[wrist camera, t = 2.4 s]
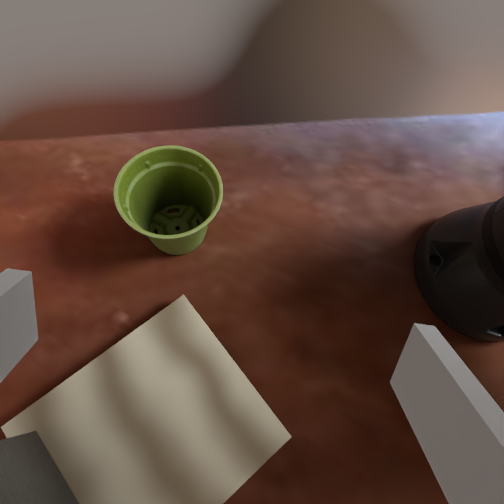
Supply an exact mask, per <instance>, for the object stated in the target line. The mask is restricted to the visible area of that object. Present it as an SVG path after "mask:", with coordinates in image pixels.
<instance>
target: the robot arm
mask: <svg viewBox="0 0 504 504" xmlns="http://www.w3.org/2000/svg"><path fill="white" fill-rule="evenodd" d="M415 273H416V277H417V281H418V284H419V287H420V289H421V292H422V294H423V296H424V298H425V299H426V301H427V303H428V304H429V305H430V307H431V308H432V309H433V311H434V312H435V313H436V314H437V315H438V316H439V317H440V318H441V319H442V320H443V321H444V322H445V323H446V324H448V325H449V326H450V327H452V328H453V329H455V330H456V331H458V332H460V333H462V334H464V335H466V336H468V337H471V338H474V339H477V340H482V341H488V342H499V341H504V197H502V198H500V199H499V200H497V201H495V202H490V203H486V204H482V205H477V206H473V207H469V208H464V209H460V210H457V211H454V212H451V213H449V214H447V215H445V216H444V217H442V218H441V219H439V220H438V221H437V222H435V223H434V224H432V225H431V226H430V227H429V228H428V229H427V230H426V231H425V232H424V233H423V235H422V236H421V238H420V240H419V242H418V245H417V248H416V252H415ZM37 340H38V331H37V321H36V311H35V301H34V291H33V282H32V272H31V271H23V270H16V269H9V268H7V269H6V270H4V271H3V272H2V273H0V383H1V382H2V381H3V379H4V378H5V377H6V376H7V375H8V374H9V373H10V371H11V370H12V369H13V368H14V367H15V366H16V364H17V363H18V362H19V361H20V360H21V359H22V358H23V356H24V355H25V354H26V353H27V352H28V351H29V349H30V348H31V347H32V346H33V345H34V344H35V343H36V341H37ZM390 384H391V386H392V388H393V390H394V392H395V394H396V396H397V398H398V400H399V403H400V405H401V407H402V409H403V411H404V413H405V415H406V417H407V419H408V421H409V423H410V425H411V427H412V429H413V431H414V433H415V435H416V438H417V440H418V442H419V444H420V446H421V448H422V450H423V452H424V454H425V456H426V458H427V460H428V462H429V464H430V466H431V468H432V471H433V473H434V475H435V477H436V479H437V481H438V483H439V485H440V487H441V489H442V491H443V493H444V495H445V497H446V499H447V501H448V503H449V504H504V412H503V411H502V410H501V408H500V407H499V406H498V405H497V403H496V402H495V401H494V400H493V398H492V397H491V396H490V395H489V393H488V392H487V391H486V390H485V388H484V387H483V386H482V385H481V383H480V382H479V381H478V380H477V378H476V377H475V376H474V375H473V373H472V372H471V371H470V370H469V368H468V367H467V366H466V365H465V363H464V362H463V361H462V360H461V358H460V357H459V356H458V354H457V353H456V352H455V351H454V349H453V348H452V347H451V346H450V344H449V343H448V342H447V341H446V339H445V338H444V337H443V336H442V334H441V333H440V332H439V331H438V329H437V328H436V327H435V326H432V325H425V324H417V323H414V324H413V327H412V329H411V332H410V334H409V336H408V339H407V341H406V344H405V346H404V349H403V351H402V353H401V356H400V358H399V361H398V363H397V366H396V368H395V370H394V373H393V375H392V378H391V380H390Z"/></svg>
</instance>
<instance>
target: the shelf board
mask: <svg viewBox="0 0 504 504" xmlns="http://www.w3.org/2000/svg"><path fill="white" fill-rule="evenodd" d="M1 429H2V430H3V432H4V434H5V436H6V438H10V437H14V436H18V435H22V434H25V433H29V432H33V431H37V433H38V434H39V436H40V438H41V439H42V441H43V443H44V444H45V446H46V448H47V450H48V451H49V453H50V455H51V456H52V458H53V460H54V461H55V463H56V465H57V467H58V468H59V470H60V472H61V473H62V475H63V477H64V478H65V480H66V482H67V484H68V485H69V487H70V489H71V490H72V492H73V494H74V495H75V497H76V499H77V500H78V502H79V504H223V503H224V502H225V501H226V500H227V499H228V498H229V497H230V496H231V495H232V494H234V493H235V492H236V491H237V490H238V489H239V488H240V487H241V486H242V485H243V484H244V483H245V482H246V481H247V480H248V479H249V478H250V477H251V476H252V475H253V474H254V473H255V472H256V471H257V470H258V469H259V468H260V467H261V466H262V465H263V464H264V463H265V462H266V461H267V460H268V459H269V458H270V457H271V456H273V455H274V454H275V453H276V452H277V451H278V450H279V449H280V448H281V447H282V446H283V445H284V444H285V443H286V442H287V441H288V440H289V439H290V438H291V435H290V434H289V433H288V431H287V430H286V429H285V427H284V426H283V425H282V423H281V422H280V421H279V419H278V418H277V417H276V415H275V414H274V413H273V412H272V410H271V409H270V408H269V406H268V405H267V404H266V402H265V401H264V400H263V398H262V397H261V396H260V394H259V393H258V392H257V391H256V389H255V388H254V387H253V385H252V384H251V383H250V381H249V380H248V379H247V377H246V376H245V375H244V373H243V372H242V371H241V369H240V368H239V367H238V366H237V364H236V363H235V362H234V360H233V359H232V358H231V356H230V355H229V354H228V352H227V351H226V350H225V348H224V347H223V346H222V344H221V343H220V342H219V341H218V339H217V338H216V337H215V335H214V334H213V333H212V331H211V330H210V329H209V327H208V326H207V325H206V323H205V322H204V321H203V319H202V318H201V317H200V316H199V314H198V313H197V312H196V310H195V309H194V308H193V306H192V305H191V304H190V302H189V301H188V300H187V298H186V297H185V296H184V295H182V296H181V297H180V298H178V299H177V300H176V301H174V302H173V303H171V304H170V305H169V306H167V307H166V308H164V309H163V310H162V311H160V312H159V313H158V314H156V315H155V316H153V317H152V318H151V319H149V320H148V321H147V322H145V323H144V324H142V325H141V326H140V327H138V328H137V329H135V330H134V331H133V332H131V333H130V334H129V335H127V336H126V337H124V338H123V339H122V340H120V341H119V342H118V343H116V344H115V345H113V346H112V347H111V348H109V349H108V350H106V351H105V352H104V353H102V354H101V355H100V356H98V357H97V358H95V359H94V360H93V361H91V362H90V363H89V364H87V365H86V366H84V367H83V368H82V369H80V370H79V371H77V372H76V373H75V374H73V375H72V376H71V377H69V378H68V379H66V380H65V381H64V382H62V383H61V384H60V385H58V386H57V387H55V388H54V389H53V390H51V391H50V392H48V393H47V394H46V395H44V396H43V397H42V398H40V399H39V400H37V401H36V402H35V403H33V404H32V405H31V406H29V407H28V408H26V409H25V410H24V411H22V412H21V413H19V414H18V415H17V416H15V417H14V418H13V419H11V420H10V421H8V422H7V423H6V424H4V425H3V426H2V427H1Z"/></svg>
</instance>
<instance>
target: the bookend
mask: <svg viewBox="0 0 504 504" xmlns="http://www.w3.org/2000/svg"><path fill="white" fill-rule="evenodd" d="M0 504H79V502H78V500H77V499H76V497H75V495H74V494H73V492H72V490H71V489H70V487H69V485H68V484H67V482H66V480H65V478H64V477H63V475H62V473H61V472H60V470H59V468H58V467H57V465H56V463H55V461H54V460H53V458H52V456H51V455H50V453H49V451H48V450H47V448H46V446H45V444H44V443H43V441H42V439H41V438H40V436H39V434H38V433H37V431H33V432H29V433H25V434H22V435H18V436H14V437H10V438H6V439H2V440H0Z"/></svg>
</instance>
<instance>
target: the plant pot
mask: <svg viewBox="0 0 504 504" xmlns="http://www.w3.org/2000/svg"><path fill="white" fill-rule="evenodd" d="M222 197H223V185H222V181H221V178H220V175H219V173H218V171H217V169H216V168H215V166H214V165H213V164H212V163H211V162H210V160H208V159H207V158H206V157H204V156H203V155H202V154H200V153H198V152H196V151H194V150H192V149H189V148H186V147H181V146H160V147H155V148H151V149H148V150H145V151H143V152H141V153H140V154H138V155H136V156H135V157H133V158H132V159H131V160H129V161H128V162H127V163H126V164H125V165H124V166H123V168H122V169H121V171H120V172H119V174H118V176H117V178H116V181H115V185H114V201H115V205H116V208H117V210H118V212H119V214H120V215H121V217H122V218H123V220H124V221H125V222H126V223H127V224H128V225H129V226H130V227H131V228H133V229H134V230H136V231H137V232H139V233H141V234H143V235H145V236H147V237H148V238H149V239H150V240H151V241H152V243H153V244H154V245H155V246H156V247H157V248H158V249H160V250H161V251H163V252H165V253H168V254H171V255H183V254H187V253H189V252H192V251H193V250H195V249H196V248H197V247H198V246H199V245H200V244H201V242H202V241H203V239H204V237H205V234H206V231H207V227H208V224H209V223H210V222H211V220H212V219H213V218H214V217H215V215H216V214H217V212H218V210H219V208H220V205H221V202H222ZM172 209H179V210H180V211H179V212H172V213H167V212H168V211H169V210H172ZM196 220H199V222H200V224H201V225H199V226H198V225H197V222H196ZM176 226H179V227H180V230H178V231H177V230H176ZM155 229H157V232H158V234H155V233H154V230H155Z"/></svg>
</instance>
